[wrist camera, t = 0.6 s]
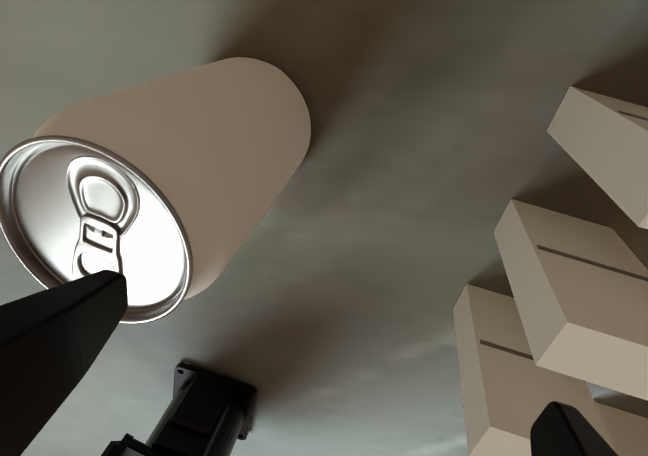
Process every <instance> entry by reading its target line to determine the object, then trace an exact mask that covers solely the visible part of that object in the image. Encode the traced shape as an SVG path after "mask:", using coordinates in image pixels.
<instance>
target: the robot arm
mask: <svg viewBox="0 0 648 456" xmlns="http://www.w3.org/2000/svg"><path fill="white" fill-rule="evenodd" d="M127 307H128V292H127V279H126V277H125V275H124V274H122V273H119V272H116V271H112V270H107V269H105V270H101V271H98V272H95V273H93V274H90V275H87V276H84V277H81V278H78V279H75V280H73V281H70V282H67V283H64V284H61V285H58V286H55V287H52V288H50V289H47V290H44V291H41V292H38V293H35V294H32V295H29V296H27V297H24V298H21V299H18V300H15V301H12V302H9V303H7V304H4V305H1V306H0V456H20V455H21V454H22V453H23V452H24V450H25V449H26V448H27V447H28V445H29V444H30V443H31V442H32V440H33V439H34V438H35V437H36V435H37V434H38V433H39V432H40V430H41V429H42V428H43V427H44V425H45V424H46V423H47V422H48V421H49V419H50V418H51V417H52V416H53V414H54V413H55V412H56V411H57V409H58V408H59V407H60V406H61V404H62V403H63V402H64V401H65V399H66V398H67V397H68V396H69V394H70V393H71V392H72V391H73V389H74V388H75V387H76V386H77V384H78V383H79V382H80V380H81V379H82V378H83V377H84V375H85V374H86V372H87V371H88V369H89V368H90V367H91V365H92V364H93V362H94V361H95V359H96V357H97V356H98V354H99V353H100V351H101V350H102V348H103V347H104V345H105V344H106V342H107V340H108V339H109V337H110V336H111V334H112V333H113V331H114V330H115V328H116V327H117V325H118V324H119V322H120V320H121V319H122V317H123V316H124V314H125V312H126V310H127ZM256 395H257V390H256V389H255V388H254V387H252V386H250V385H247V384H244V383H241V382H238V381H235V380H232V379H229V378H226V377H223V376H220V375H217V374H214V373H211V372H208V371H205V370H202V369H199V368H196V367H193V366H190V365H187V364H184V363H179V364H177V366H176V367H175V370H174V389H173V400H172V401H171V403H170V405H169V406H168V408H167V410H166V411H165V413H164V414H163V416H162V418H161V419H160V421H159V422H158V424H157V426H156V427H155V429H154V431H153V432H152V434H151V435H150V437H149V439H148V440H147V442H146V443H145V444H144V443H142V442H140V441H138V440H136V439H134V437H133V436H131V435H130V434H128V433H126V435H125V436H124V438H123V439H122V440H121V441H111V442H110V444H109V445H108V446H107V448H106V449H105V451H104V452H103V454H102V455H101V456H230V454H231V451H232V449H233V447H234V444H235V442H236V439H239V440H245V439H246V438H247V435H248V432H249V427H250V423H251V418H252V413H253V409H254V404H255V400H256ZM530 444H531V456H618V454H617V453H616V452H615V451H614V450H613V449H612V448H611V447H610V445H609V444H608V443H607V442H606V441H605V440H604V439H603V438H602V436H601V435H600V434H599V433H598V432H597V431H596V430H595V429H594V427H593V426H592V425H591V424H590V423H589V422H588V421H587V420H586V418H585V417H584V416H583V415H582V414H581V413H580V412H579V411H578V410H577V409H576V408H575V407H573V406H571V405H568V404H564V403H561V402H557V401H552V402H550V403H548V405H547V406H546V407H545V408H544V410H543V411H542V412H541V414H540V415H539V416H538V418H537V419H536V420H535V422H534V423H533V425H532V427H531V431H530Z"/></svg>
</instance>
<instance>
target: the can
mask: <svg viewBox="0 0 648 456" xmlns="http://www.w3.org/2000/svg"><path fill="white" fill-rule="evenodd" d="M310 138H311V122H310V116H309V112H308V108H307V106H306V103H305V101H304V99H303V97H302V95H301V93H300V91H299V90H298V88H297V87H296V86H295V84H294V83H293V82H292V81H291V80H290V78H289V77H288V76H287V75H286V74H285V73H284V72H282V71H281V70H280V69H278V68H277V67H275V66H273V65H271V64H269V63H267V62H264V61H261V60H257V59H252V58H245V57H235V58H228V59H224V60H220V61H216V62H213V63H209V64H206V65H202V66H199V67H196V68H192V69H189V70H186V71H182V72H179V73H176V74H172V75H169V76H166V77H162V78H159V79H156V80H153V81H149V82H146V83H143V84H139V85H136V86H133V87H130V88H126V89H123V90H120V91H117V92H113V93H110V94H107V95H104V96H101V97H98V98H94V99H91V100H88V101H85V102H83V103H80V104H77V105H74V106H71V107H69V108H67V109H65V110H63V111H61V112H59V113H57V114H55V115H54V116H52V117H51V118H49V119H48V120H47V121H46V122H45V123H44V124H43V125H42V126H41V127H40V128H39V129H38V130H37V132H36V133H35V134H34V136H33V137H32V138H31V139H28V140H26V141H23V142H21V143H19V144H18V145H16V146H15V147H13V148H12V149H11V150H10V151H8V152H7V154H6V155H5V156H4V157H3V159H2V160H1V162H0V229H1V231H2V233H3V235H4V237H5V239H6V241H7V243H8V245H9V246H10V248H11V249H12V251H13V253H14V254H15V255H16V257H17V258H18V260H19V261H20V262H21V263H22V265H23V266H24V267H25V268H26V269H27V271H28V272H29V273H30V274H31V275H32V276H33V277H34V278H35V279H36V280H37V281H38V282H39V283H40V284H42V285H43V286H44V287H45V288H46V289H50V288H52V287H55V286H58V285H61V284H64V283H67V282H70V281H73V280H75V279H78V278H81V277H84V276H87V275H90V274H93V273H95V272H98V271H101V270H105V269H107V270H112V271H116V272H119V273H122V274H124V275H125V277H126V279H127V292H128V307H127V310H126V312H125V314H124V316H123V317H122V319H121V320H120V322H119V323H126V324H138V323H146V322H151V321H155V320H158V319H160V318H162V317H164V316H166V315H168V314H170V313H171V312H172V311H174V310H175V309H176V308H177V307H178V306H179V305H180V304H181V302H182V301H183V300H185V299H188V298H190V297H192V296H194V295H196V294H198V293H200V292H202V291H203V290H205V289H206V288H207V287H208V286H210V285H211V284H212V283H213V282H214V281H215V280H216V279H217V278H218V276H219V275H220V274H221V273H222V272H223V270H224V269H225V268H226V267H227V265H228V264H229V263H230V261H231V260H232V259H233V257H234V256H235V255H236V253H237V252H238V251H239V249H240V248H241V246H242V245H243V244H244V242H245V241H246V240H247V238H248V237H249V236H250V234H251V233H252V231H253V230H254V229H255V227H256V226H257V225H258V223H259V222H260V220H261V219H262V218H263V216H264V215H265V214H266V212H267V211H268V209H269V208H270V207H271V205H272V204H273V202H274V201H275V200H276V198H277V197H278V196H279V194H280V193H281V191H282V190H283V189H284V187H285V186H286V184H287V183H288V182H289V180H290V179H291V177H292V176H293V175H294V173H295V172H296V170H297V169H298V167H299V166H300V164H301V163H302V161H303V159H304V157H305V155H306V153H307V150H308V147H309V143H310Z"/></svg>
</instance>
